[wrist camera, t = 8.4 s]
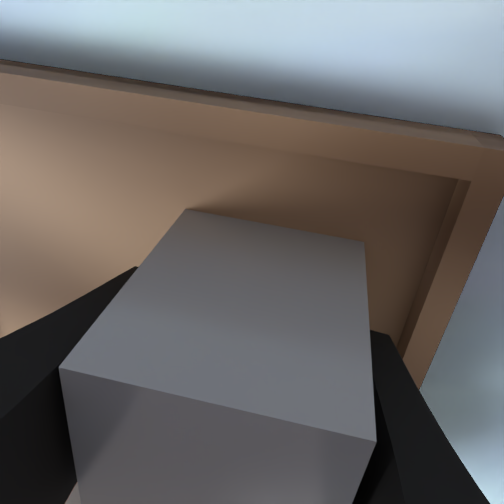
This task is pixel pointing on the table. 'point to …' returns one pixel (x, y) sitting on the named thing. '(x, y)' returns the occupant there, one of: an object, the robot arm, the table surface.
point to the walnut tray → (233, 190)
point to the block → (227, 372)
